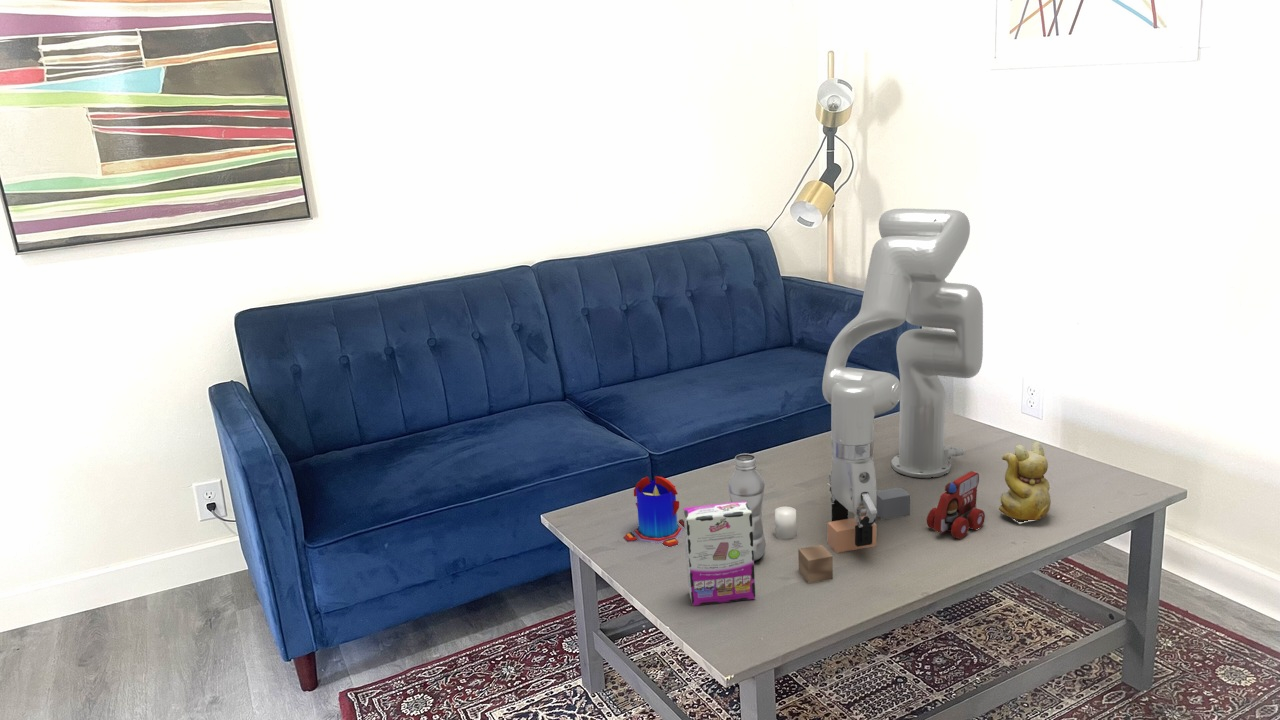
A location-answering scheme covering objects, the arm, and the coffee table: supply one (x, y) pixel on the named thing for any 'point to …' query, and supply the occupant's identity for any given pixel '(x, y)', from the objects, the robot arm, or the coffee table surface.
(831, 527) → the terracotta long brick
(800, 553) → the walnut square block
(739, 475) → the plastic bottle
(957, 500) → the toy fire truck
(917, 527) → the coffee table surface
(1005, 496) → the decorative figurine
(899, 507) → the grey short brick
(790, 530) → the cream cylinder
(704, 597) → the candy bar box
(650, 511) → the fantasy tower
